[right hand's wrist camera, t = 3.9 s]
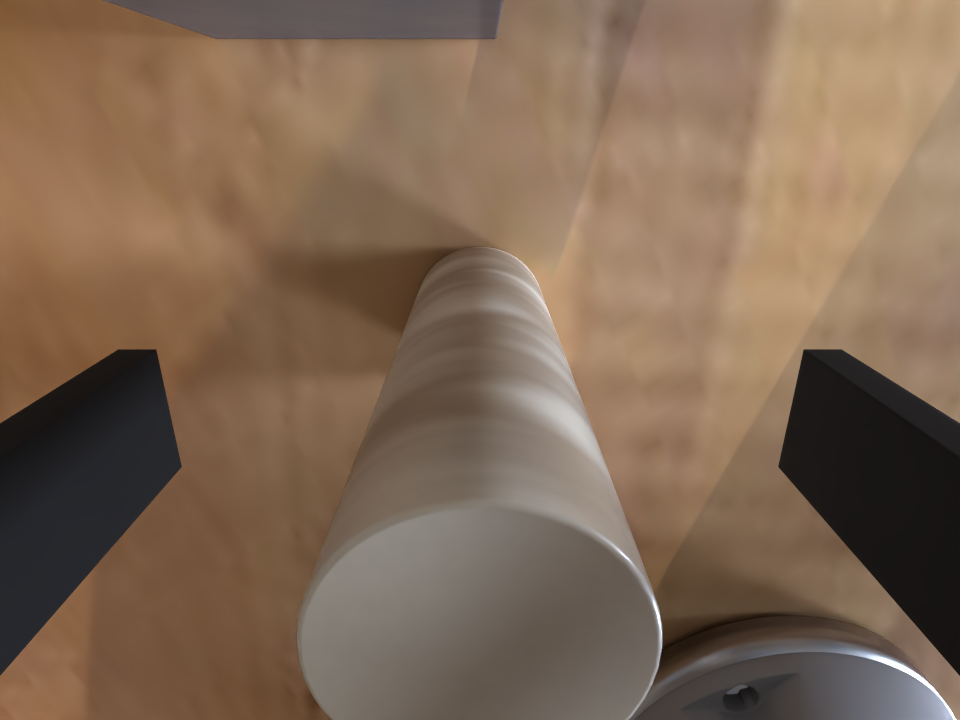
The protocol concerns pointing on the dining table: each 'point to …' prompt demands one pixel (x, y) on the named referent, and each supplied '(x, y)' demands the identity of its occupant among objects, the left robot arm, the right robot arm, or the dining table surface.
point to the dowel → (479, 529)
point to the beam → (327, 18)
